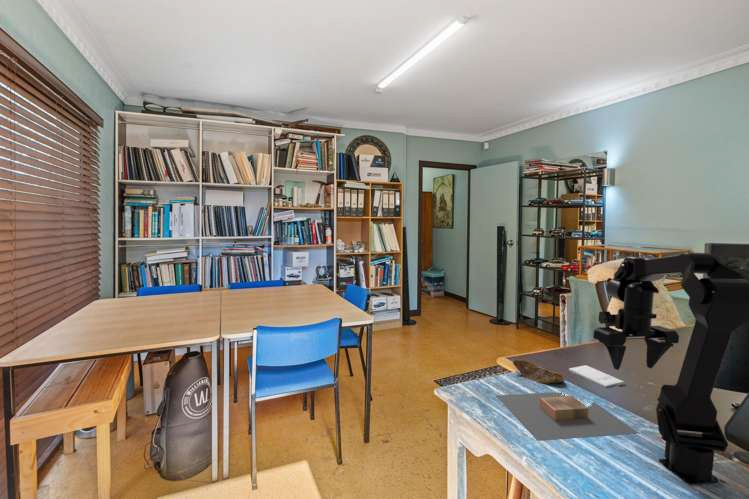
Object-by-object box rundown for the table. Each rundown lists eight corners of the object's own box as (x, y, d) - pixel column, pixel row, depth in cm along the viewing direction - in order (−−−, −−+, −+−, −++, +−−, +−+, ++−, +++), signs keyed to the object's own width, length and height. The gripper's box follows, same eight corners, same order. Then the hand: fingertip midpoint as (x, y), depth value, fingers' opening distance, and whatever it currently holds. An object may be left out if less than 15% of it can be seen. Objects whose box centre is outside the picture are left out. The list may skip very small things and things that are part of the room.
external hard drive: (586, 369, 118) (624, 386, 106) (568, 373, 115) (605, 390, 103) (586, 364, 118) (624, 380, 106) (568, 368, 115) (605, 385, 103)
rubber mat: (639, 434, 81) (639, 433, 81) (537, 442, 78) (537, 440, 78) (578, 392, 101) (578, 390, 101) (495, 396, 98) (495, 395, 98)
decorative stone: (522, 351, 119) (570, 370, 108) (520, 363, 119) (568, 384, 109) (509, 358, 112) (559, 380, 101) (507, 371, 113) (556, 394, 102)
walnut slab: (588, 408, 87) (554, 410, 86) (587, 417, 87) (554, 420, 86) (572, 395, 93) (540, 397, 92) (571, 405, 93) (539, 407, 92)
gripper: (643, 299, 97) (638, 354, 98) (580, 300, 94) (576, 357, 96) (683, 309, 86) (677, 372, 87) (613, 311, 83) (608, 375, 85)
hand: (632, 368), depth 89 cm, fingers open, 9 cm apart
